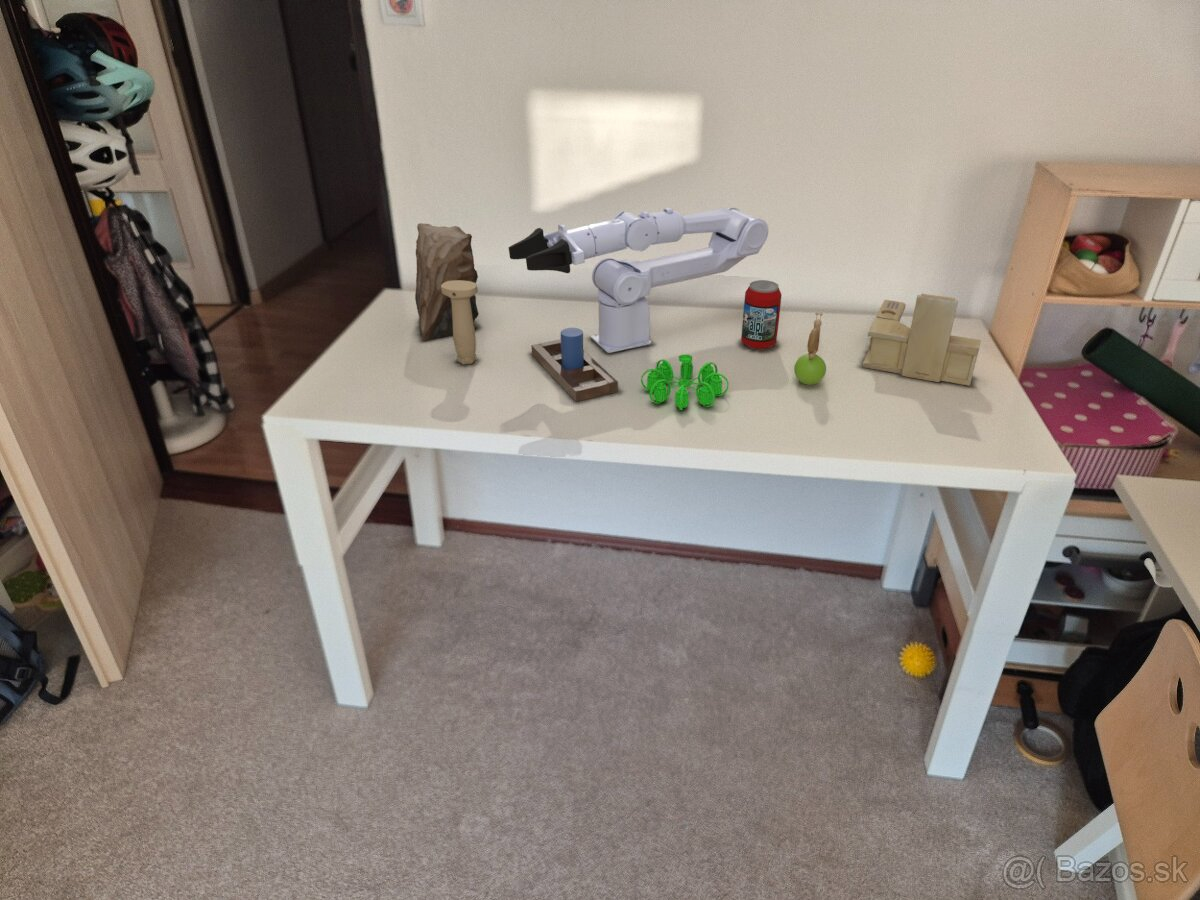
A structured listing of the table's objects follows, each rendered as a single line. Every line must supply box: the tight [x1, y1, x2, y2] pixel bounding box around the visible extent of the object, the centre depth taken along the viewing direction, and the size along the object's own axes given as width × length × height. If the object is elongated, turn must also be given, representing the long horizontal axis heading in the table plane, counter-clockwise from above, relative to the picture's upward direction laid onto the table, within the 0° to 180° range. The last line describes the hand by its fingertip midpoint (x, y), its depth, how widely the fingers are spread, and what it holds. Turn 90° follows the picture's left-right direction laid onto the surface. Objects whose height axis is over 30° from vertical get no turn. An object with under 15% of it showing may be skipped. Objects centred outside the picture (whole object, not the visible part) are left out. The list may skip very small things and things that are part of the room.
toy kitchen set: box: [862, 293, 982, 386], centre depth 151 cm, size 18×17×15 cm
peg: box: [560, 327, 585, 371], centre depth 150 cm, size 4×4×8 cm
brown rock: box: [414, 222, 480, 342], centre depth 165 cm, size 13×13×20 cm
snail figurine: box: [793, 311, 827, 386], centre depth 145 cm, size 5×6×12 cm
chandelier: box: [640, 354, 729, 411], centre depth 143 cm, size 15×15×7 cm
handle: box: [441, 280, 479, 366], centre depth 153 cm, size 5×6×15 cm
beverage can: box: [740, 279, 782, 351], centre depth 159 cm, size 7×7×12 cm
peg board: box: [530, 338, 619, 403], centre depth 152 cm, size 8×21×2 cm, turn 25°
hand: (518, 258), depth 145 cm, fingers open, 7 cm apart
